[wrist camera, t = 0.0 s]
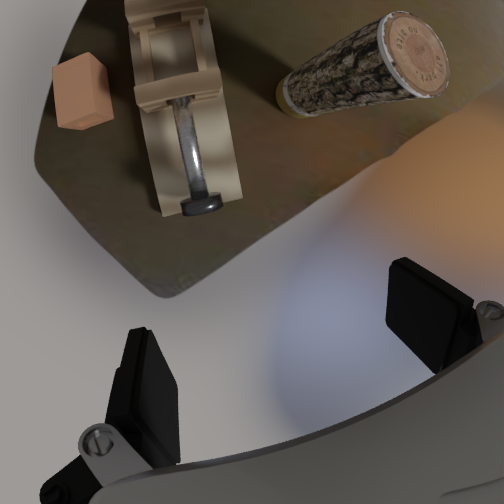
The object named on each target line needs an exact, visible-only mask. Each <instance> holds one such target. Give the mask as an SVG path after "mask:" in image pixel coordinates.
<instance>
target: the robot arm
mask: <svg viewBox="0 0 504 504" xmlns="http://www.w3.org/2000/svg"><path fill="white" fill-rule="evenodd" d="M388 281H389V282H388V296H387V309H386V324H387V326H388V327H389V328H390V329H391V330H392V331H393V332H394V333H395V334H396V335H397V336H398V337H399V338H400V339H401V340H402V341H403V342H404V343H405V344H406V345H407V346H408V347H409V348H410V349H411V350H412V352H413V353H414V354H415V355H416V356H417V357H418V358H419V359H420V360H421V361H422V362H423V363H424V364H425V365H426V366H427V367H428V368H429V369H430V370H431V371H432V372H433V373H434V374H436V375H434V376H433V377H431V378H429V379H428V380H426V381H424V382H423V383H421V384H419V385H417V386H416V387H414V388H412V389H410V390H408V391H406V392H404V393H403V394H401V395H399V396H397V397H395V398H393V399H391V400H389V401H387V402H385V403H383V404H381V405H379V406H377V407H375V408H372V409H370V410H368V411H366V412H364V413H361V414H359V415H357V416H354V417H352V418H350V419H347V420H345V421H343V422H340V423H337V424H335V425H333V426H330V427H327V428H324V429H322V430H319V431H316V432H313V433H311V434H307V435H305V436H301V437H298V438H295V439H292V440H289V441H286V442H282V443H279V444H275V445H271V446H268V447H264V448H261V449H256V450H252V451H248V452H243V453H239V454H235V455H230V456H226V457H221V458H216V459H210V460H204V461H199V462H192V463H187V464H180V465H176V463H180V461H181V460H180V459H181V458H180V442H179V420H178V388H177V384H176V381H175V379H174V377H173V375H172V373H171V371H170V369H169V367H168V364H167V362H166V360H165V358H164V356H163V354H162V352H161V350H160V347H159V345H158V343H157V341H156V338H155V336H154V334H153V332H152V330H147V329H146V328H145V327H141V328H136V329H131V330H129V333H128V337H127V341H126V345H125V349H124V353H123V357H122V361H121V365H120V367H119V368H117V369H116V372H115V376H114V381H113V384H112V389H111V393H110V398H109V403H108V408H107V413H106V418H105V423H99V424H95V425H92V426H91V427H89V428H87V429H86V430H85V431H84V432H83V433H82V435H81V436H80V439H79V442H78V449H79V452H80V454H81V455H79V456H78V457H77V458H76V459H74V460H73V461H72V462H70V463H69V464H68V465H67V466H65V467H64V468H63V469H62V470H60V471H59V472H58V473H56V474H55V475H54V476H52V477H51V478H50V479H49V480H47V481H46V482H45V483H44V484H43V486H42V488H41V489H40V495H39V496H40V502H41V504H504V307H503V306H502V305H501V304H499V303H497V302H494V301H489V300H488V301H482V302H480V303H479V304H478V305H477V306H476V309H474V308H472V307H473V303H474V300H473V299H472V298H470V297H469V296H467V295H466V294H464V293H463V292H461V291H460V290H458V289H457V288H455V287H454V286H452V285H451V284H449V283H447V282H446V281H444V280H443V279H441V278H440V277H438V276H436V275H435V274H433V273H432V272H430V271H428V270H427V269H425V268H423V267H422V266H420V265H419V264H417V263H415V262H414V261H412V260H410V259H408V258H407V257H403V258H400V259H397V260H394V261H393V262H392V264H391V266H390V267H389V280H388Z"/></svg>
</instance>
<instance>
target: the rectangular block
mask: <svg viewBox="0 0 504 504" xmlns="http://www.w3.org/2000/svg"><path fill="white" fill-rule="evenodd" d="M52 72H53V87H54V98H55V107H56V115H57V122H58V127H62V128H70V129H77V130H84V129H86V128H89V127H92V126H95V125H97V124H100V123H103V122H106V121H109V120H112V119H114V116H113V110H112V104H111V97H110V90H109V83H108V75H107V68H106V67H105V66H104V65H103V64H102V63H100V62H99V61H98V60H97V59H96V58H95V57H94V56H93V55H92V54H91V53H90V52H87V53H84V54H82V55H80V56H77V57H75V58H73V59H70V60H68V61H66V62H64V63H61V64H59V65H57V66H55V67H53V68H52Z"/></svg>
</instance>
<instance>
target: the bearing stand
mask: <svg viewBox="0 0 504 504" xmlns="http://www.w3.org/2000/svg"><path fill="white" fill-rule="evenodd" d="M124 3H125V16H126V18H127V20H128V22H129V24H130V25H128V28H129V38H130V47H131V56H132V64H133V71H134V78H135V85H136V86H135V87H134V92H135V98H136V104H137V105H138V106H139V109H140V115H141V121H142V126H143V131H144V136H145V141H146V146H147V151H148V156H149V161H150V165H151V170H152V174H153V179H154V183H155V187H156V191H157V195H158V200H159V204H160V208H161V211H162V215H163V217H165V216H169V215H173V214H177V213H181V212H182V210H181V206H180V201H182V200H184V199H186V198H189V197H190V192H189V188H188V183H187V179H186V174H185V169H184V165H183V160H182V155H181V150H180V145H179V140H178V135H177V130H176V125H175V119H174V114H173V109H172V103H171V99H174V98H178V97H183V96H188V95H190V100H191V106H192V111H193V117H194V122H195V127H196V132H197V137H198V142H199V148H200V153H201V158H202V163H203V167H204V172H205V177H206V182H207V187H208V191H209V193H210V192H221V196H222V201H223V202H227V201H232V200H237V199H241V198H243V197H242V191H241V186H240V180H239V175H238V170H237V164H236V159H235V154H234V148H233V143H232V138H231V132H230V127H229V122H228V116H227V111H226V106H225V100H224V95H223V90H222V85H223V84H222V79H221V74H220V68H218V63H217V58H216V53H215V47H214V42H213V37H212V31H211V26H210V21H209V15H208V10H207V8H205V5H206V0H124Z"/></svg>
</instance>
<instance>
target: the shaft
mask: <svg viewBox="0 0 504 504" xmlns="http://www.w3.org/2000/svg"><path fill="white" fill-rule="evenodd" d="M171 103H172V109H173V114H174V119H175V125H176V130H177V135H178V140H179V145H180V150H181V155H182V160H183V165H184V169H185V174H186V179H187V183H188V188H189V192H190V197H189V198H186V199H184V200H182V201H180V206H181V210H182V214H183V216H196V215H202V214H206V213H209V212H213V211H215V210H218V209H220V208H222V207H223V201H222V196H221V192H210V193H209V191H208V187H207V182H206V177H205V172H204V167H203V163H202V158H201V153H200V148H199V142H198V137H197V132H196V127H195V122H194V117H193V111H192V106H191V100H190V95H188V96H183V97H178V98H174V99H171Z"/></svg>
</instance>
